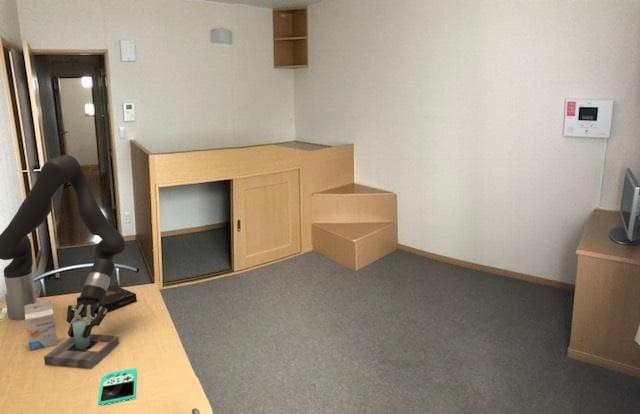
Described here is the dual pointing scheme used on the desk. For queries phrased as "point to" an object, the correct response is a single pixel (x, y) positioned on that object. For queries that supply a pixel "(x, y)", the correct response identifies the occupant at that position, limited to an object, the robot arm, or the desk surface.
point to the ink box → (40, 325)
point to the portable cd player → (116, 298)
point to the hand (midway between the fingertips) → (77, 336)
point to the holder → (72, 357)
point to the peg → (80, 334)
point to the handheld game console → (117, 386)
